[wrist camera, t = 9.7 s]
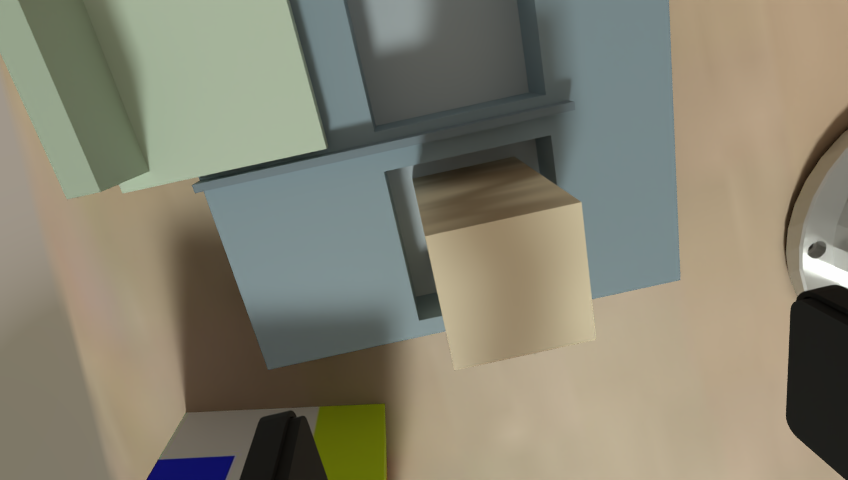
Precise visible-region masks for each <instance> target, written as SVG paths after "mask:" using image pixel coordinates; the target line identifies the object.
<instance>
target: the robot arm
mask: <svg viewBox="0 0 848 480" xmlns="http://www.w3.org/2000/svg"><path fill="white" fill-rule="evenodd" d="M786 257H787V265H788V273H789V276H790V279H791V282H792V285H793V287H794V290H795V293H796V294H797V296H798V297H797V300H796V302H794V303H793V304H792V306H791V312H790V335H789V358H788V382H787V405H786V420H787V423H788V425H789V427H790V429H791V431H792V432H793V433H794V435H795V436H796V437H797V438H798V439H800V440H801V441H802V442H803V443H804V444H805V445H806V446H808V447H809V448H810V449H811V450H812V451H813V452H814V453H816V454H817V455H818V456H819V457H820V458H821V459H822V460H824V461H825V462H826V463H827V464H828V465H829V466H831V467H832V468H833V469H834V470H835V471H836V472H837V473H839V474H840V475H841V476H842V477H843V478H844V479H845V480H848V130H847V131H845V132H844V133H843V134H842V135H841V136H840V137H839V138H838V139H837V140H836V141H835V143H834V144H833V145H832V146H831V147H830V148H829V149H828V150H827V151H826V153H825V154H824V155H823V156H822V157H821V159H820V160H819V162H818V163H817V165H816V166H815V168H814V169H813V171H812V172H811V174H810V175H809V177H808V178H807V180H806V181H805V184H804V186H803V188H802V190H801V192H800V194H799V197H798V199H797V201H796V203H795V205H794V209H793V213H792V216H791V220H790V224H789V227H788V234H787V246H786ZM239 480H328V478H327V475H326V472H325V470H324V467H323V464H322V461H321V458H320V455H319V452H318V449H317V446H316V443H315V441H314V438H313V435H312V432H311V429H310V426H309V423H308V421H307V418H306V417H305V416H299V417H297V416H296V414H295V413H294V411H292V410H289V411H285V412H281V413H277V414H272V415H268V416H264V417H262V418H260V420H259V422H258V425H257V428H256V431H255V434H254V437H253V440H252V443H251V446H250V449H249V452H248V455H247V458H246V461H245V464H244V467H243V470H242V473H241V476H240V479H239Z"/></svg>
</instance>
